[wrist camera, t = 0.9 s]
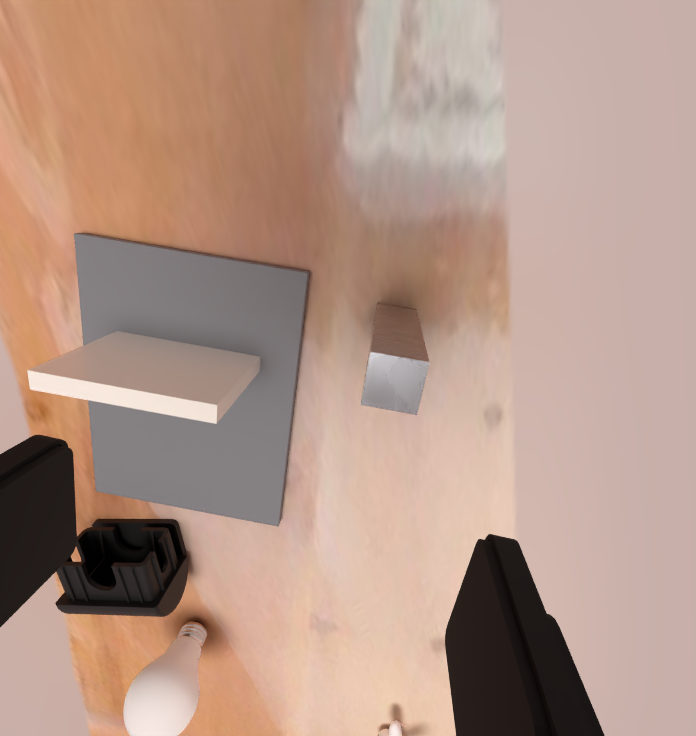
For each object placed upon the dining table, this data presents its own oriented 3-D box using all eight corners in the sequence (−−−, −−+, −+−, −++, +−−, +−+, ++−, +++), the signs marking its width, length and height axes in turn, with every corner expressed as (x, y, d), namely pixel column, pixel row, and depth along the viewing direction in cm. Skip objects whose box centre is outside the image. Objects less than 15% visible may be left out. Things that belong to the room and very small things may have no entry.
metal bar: (377, 302, 32) (370, 351, 21) (416, 309, 32) (429, 362, 21) (371, 339, 33) (360, 404, 22) (408, 346, 33) (416, 414, 22)
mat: (83, 232, 32) (74, 233, 31) (310, 271, 32) (307, 273, 31) (102, 484, 41) (96, 491, 40) (280, 519, 40) (278, 526, 40)
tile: (117, 330, 34) (27, 370, 26) (260, 356, 34) (217, 405, 25) (118, 349, 35) (30, 393, 26) (259, 374, 34) (216, 428, 26)
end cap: (109, 570, 45) (64, 628, 39) (90, 518, 43) (39, 571, 37) (196, 572, 44) (164, 632, 38) (182, 518, 42) (145, 573, 35)
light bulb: (218, 652, 48) (171, 771, 38) (163, 633, 48) (102, 747, 38) (232, 615, 46) (187, 732, 36) (175, 594, 46) (113, 706, 35)
